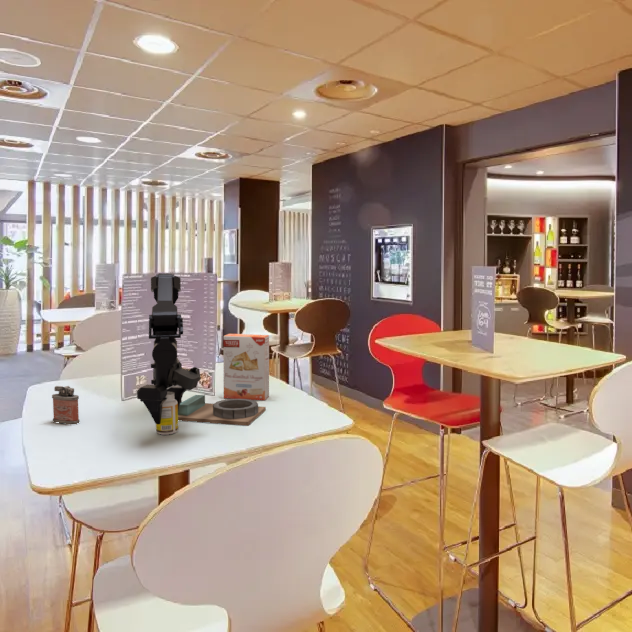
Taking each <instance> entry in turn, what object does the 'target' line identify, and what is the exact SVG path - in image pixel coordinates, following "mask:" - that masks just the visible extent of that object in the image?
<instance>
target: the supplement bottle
mask: <svg viewBox="0 0 632 632" xmlns="http://www.w3.org/2000/svg"><path fill="white" fill-rule="evenodd" d="M165 398H167V400H166V401H165V402H164V403H163V404H162V415H161V423H160V424H156V423H155V430H156V433H157V434H158V435H160V434H161V436H168V435H169V434H170V435H173V434H176V433H177V432H178V431H179V421H178V402H177V400H175V399H174V393H173V392H167V395H166V397H165Z"/></svg>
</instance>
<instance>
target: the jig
mask: <svg viewBox="0 0 632 632" xmlns="http://www.w3.org/2000/svg"><path fill="white" fill-rule="evenodd" d="M266 408H267V407H266V406H259V403H258V402H257V400H250V399H229V398H226V399H223V400H222V399H221V400H218V401H216V402H214V403H207V402H206V395H205V394H194V395H193V396H190V397H189V398H187V399H185V400H184V401H183V400H182V402H181V403H180V406H179V410H178V420H182V421H181V422H188V421H197V422H196V423H203V422H210V423H209V424H218V423H221V425H234V426H250V424H252V423H253V422H254V421H255V420H257V418H259V417H260V416H261V415H262V414H263V413H264V412H265V411H266V410H267V409H266Z"/></svg>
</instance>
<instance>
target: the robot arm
mask: <svg viewBox="0 0 632 632" xmlns="http://www.w3.org/2000/svg"><path fill="white" fill-rule="evenodd" d="M181 288H182V287H181V277H180V276H176V275H175V274H173V273H167V272H166V273H159V272H158V273H157V274H156V275H155V276H152V277H150V291H151V293H153V299H154V300H155V302H156V304H154V305H153V306H152V307H151V314H149V315H148V340H152V339H153V340H154V341H153V348H152V352H151V357H152V359H153V362H152V363H151V364H150V369H153V371H152V373H153V375H152V377H153V379H151V380H150V383H151V384H145V385H143V386H141V387H139V388H138V390H136V398H137V400H140V402H143V405H144V406H145V408H146V409H147V410H148V412H149V414H150V416H151V418H152V419H153V421H154V424H155V425H156V424H160V423H161V415H162V404H163V403H164V402H165V401H166V400H167V398H165V397H166V395H167V392H173V393H174V399H175V400H177V402H178V410H179V406H180V403H181V402H183V400H182V399H183V395H184V393H185V392H187V391H192V390H193V389H194V388H195V389H197V387H198V383H199V381H201V379H202V378H201V376H202V375H201V371H200V368H199V367H197V366H193V367H191V368H190V369H188V368H186V369H185V368H183V367H182V366H183V365H182V363H181V361H180V360H179V358H178V340H177V339H181V338H182V335H184V318H183V317H182V315H181V313H179V314H178V306H177V305H176V303H177V301H178V298H179V293H181Z"/></svg>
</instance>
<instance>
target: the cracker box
mask: <svg viewBox="0 0 632 632" xmlns="http://www.w3.org/2000/svg"><path fill="white" fill-rule="evenodd" d="M269 396H270V335H269V334H253V333H252V334H250V333H246V334H245V333H227V334H225V335H223V399H250V400H254V401H265V400H267V399H268V397H269Z"/></svg>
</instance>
